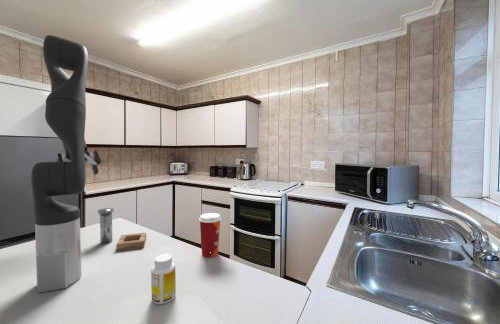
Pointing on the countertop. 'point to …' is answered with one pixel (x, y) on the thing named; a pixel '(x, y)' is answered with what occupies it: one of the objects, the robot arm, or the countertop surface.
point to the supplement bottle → (163, 279)
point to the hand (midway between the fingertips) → (84, 176)
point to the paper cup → (210, 234)
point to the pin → (105, 225)
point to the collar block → (131, 241)
